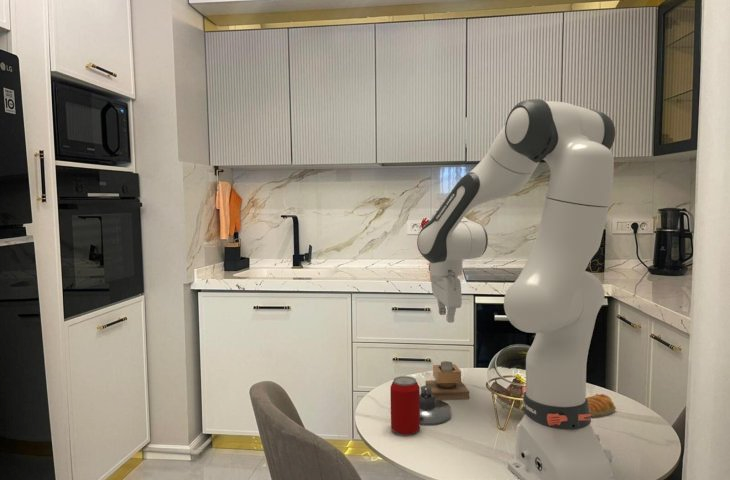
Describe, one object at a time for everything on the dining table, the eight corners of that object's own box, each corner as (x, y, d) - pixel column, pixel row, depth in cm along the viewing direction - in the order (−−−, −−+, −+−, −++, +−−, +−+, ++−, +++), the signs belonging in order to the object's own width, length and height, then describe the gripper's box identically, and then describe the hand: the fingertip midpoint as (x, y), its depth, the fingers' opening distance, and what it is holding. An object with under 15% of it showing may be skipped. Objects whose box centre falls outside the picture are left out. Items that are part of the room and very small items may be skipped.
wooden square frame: (461, 382, 136) (461, 371, 136) (437, 383, 136) (437, 372, 136) (455, 374, 143) (455, 364, 142) (432, 375, 142) (432, 365, 142)
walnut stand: (469, 399, 135) (469, 368, 134) (432, 400, 134) (432, 369, 134) (459, 385, 145) (459, 357, 144) (425, 387, 144) (425, 358, 144)
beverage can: (419, 424, 120) (419, 375, 119) (420, 437, 113) (419, 385, 112) (391, 423, 120) (390, 374, 119) (390, 436, 114) (389, 384, 113)
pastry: (597, 422, 120) (597, 406, 120) (571, 413, 125) (571, 398, 125) (617, 412, 125) (617, 397, 125) (591, 404, 131) (592, 389, 131)
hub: (460, 417, 123) (460, 389, 123) (423, 429, 117) (423, 400, 116) (428, 402, 133) (428, 376, 133) (392, 412, 127) (392, 385, 126)
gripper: (467, 273, 127) (467, 326, 128) (448, 263, 147) (448, 310, 148) (443, 273, 127) (443, 327, 128) (427, 264, 147) (427, 310, 148)
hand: (446, 318), depth 138 cm, fingers open, 8 cm apart
